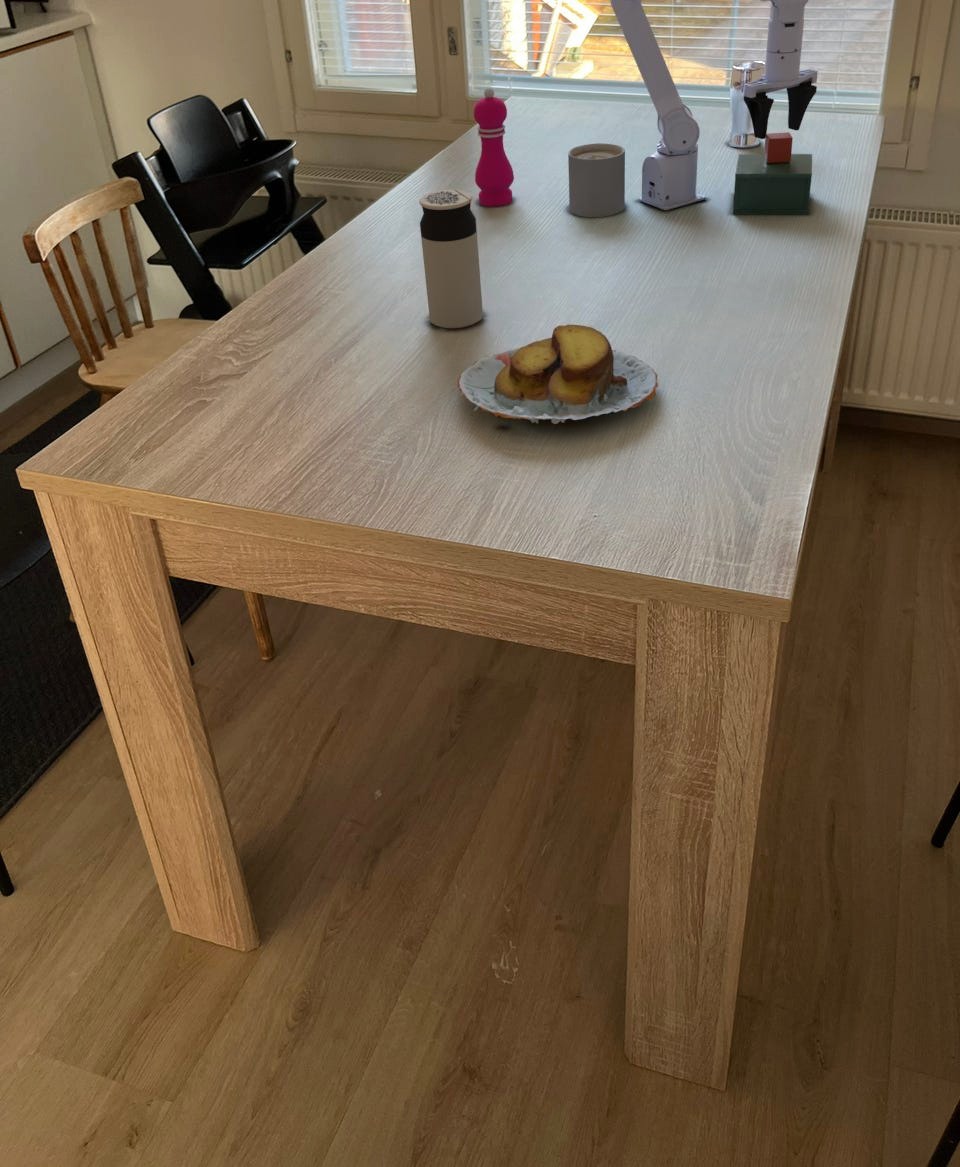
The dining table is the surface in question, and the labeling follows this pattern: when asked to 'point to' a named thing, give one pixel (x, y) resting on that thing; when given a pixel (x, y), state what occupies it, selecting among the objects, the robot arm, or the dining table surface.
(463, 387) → the food on plate
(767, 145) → the block
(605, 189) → the coffee mug
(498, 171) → the pepper mill
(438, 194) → the travel mug
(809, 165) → the bin lid
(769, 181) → the bin
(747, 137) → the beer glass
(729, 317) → the dining table surface
